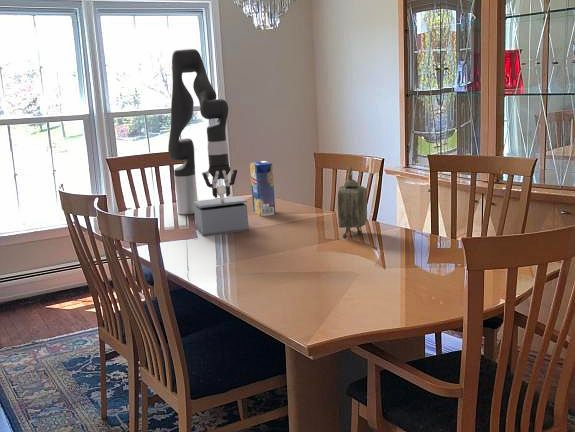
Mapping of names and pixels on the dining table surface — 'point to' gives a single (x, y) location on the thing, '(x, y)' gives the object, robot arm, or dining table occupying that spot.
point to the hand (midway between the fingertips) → (221, 196)
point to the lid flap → (220, 199)
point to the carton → (221, 219)
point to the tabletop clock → (352, 205)
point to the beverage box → (262, 188)
